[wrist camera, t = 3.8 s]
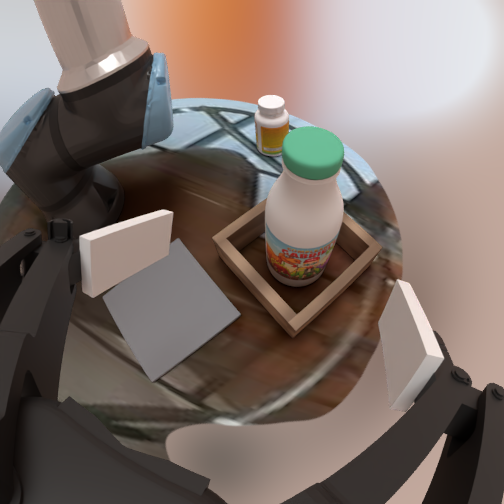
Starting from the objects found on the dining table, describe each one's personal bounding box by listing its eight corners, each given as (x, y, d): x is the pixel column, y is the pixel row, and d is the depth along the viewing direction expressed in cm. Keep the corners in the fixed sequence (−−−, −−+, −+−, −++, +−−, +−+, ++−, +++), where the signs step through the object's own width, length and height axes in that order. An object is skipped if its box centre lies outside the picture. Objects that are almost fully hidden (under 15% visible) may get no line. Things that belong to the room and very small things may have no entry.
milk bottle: (256, 249, 38) (242, 129, 20) (306, 226, 39) (325, 105, 21) (284, 299, 35) (296, 200, 17) (336, 271, 36) (386, 162, 18)
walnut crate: (219, 256, 38) (212, 237, 33) (297, 197, 41) (299, 175, 37) (292, 338, 32) (295, 330, 28) (370, 264, 36) (382, 247, 31)
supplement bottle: (294, 148, 46) (296, 102, 37) (270, 162, 45) (268, 115, 36) (274, 133, 48) (273, 89, 39) (250, 145, 47) (246, 100, 38)
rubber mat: (104, 298, 36) (102, 297, 35) (179, 239, 39) (178, 237, 39) (153, 382, 31) (151, 382, 30) (241, 315, 34) (240, 314, 33)
